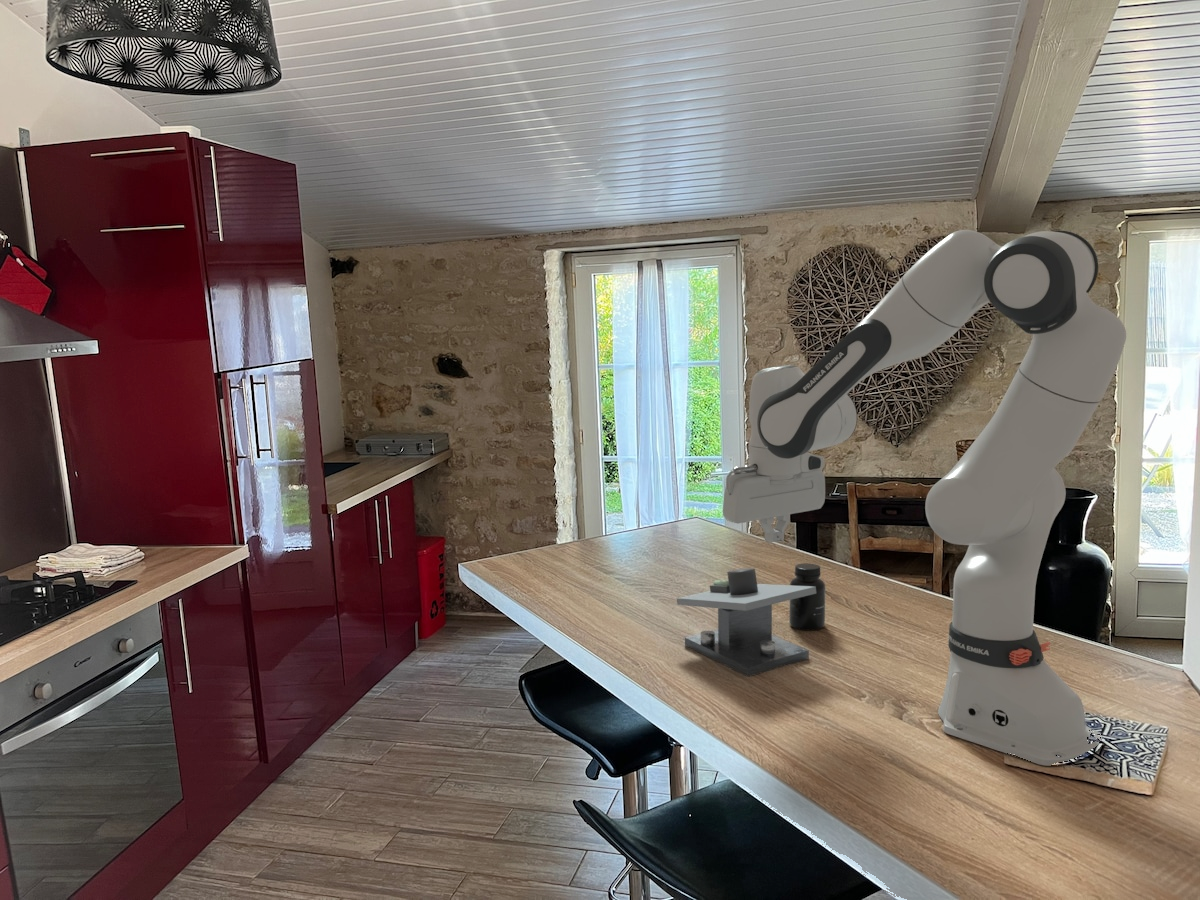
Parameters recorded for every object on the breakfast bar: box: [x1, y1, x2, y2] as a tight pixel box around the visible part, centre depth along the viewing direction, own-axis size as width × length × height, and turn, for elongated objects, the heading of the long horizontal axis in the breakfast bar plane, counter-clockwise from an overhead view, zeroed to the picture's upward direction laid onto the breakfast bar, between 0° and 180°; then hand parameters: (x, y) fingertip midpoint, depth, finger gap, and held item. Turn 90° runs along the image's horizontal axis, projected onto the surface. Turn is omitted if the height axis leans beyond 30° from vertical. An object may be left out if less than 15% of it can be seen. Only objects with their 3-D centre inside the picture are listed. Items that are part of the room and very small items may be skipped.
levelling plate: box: [676, 567, 816, 611], centre depth 168 cm, size 20×16×6 cm
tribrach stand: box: [684, 604, 810, 677], centre depth 169 cm, size 18×14×9 cm
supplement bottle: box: [788, 563, 826, 631], centre depth 182 cm, size 7×7×12 cm
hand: (774, 540), depth 159 cm, fingers closed
